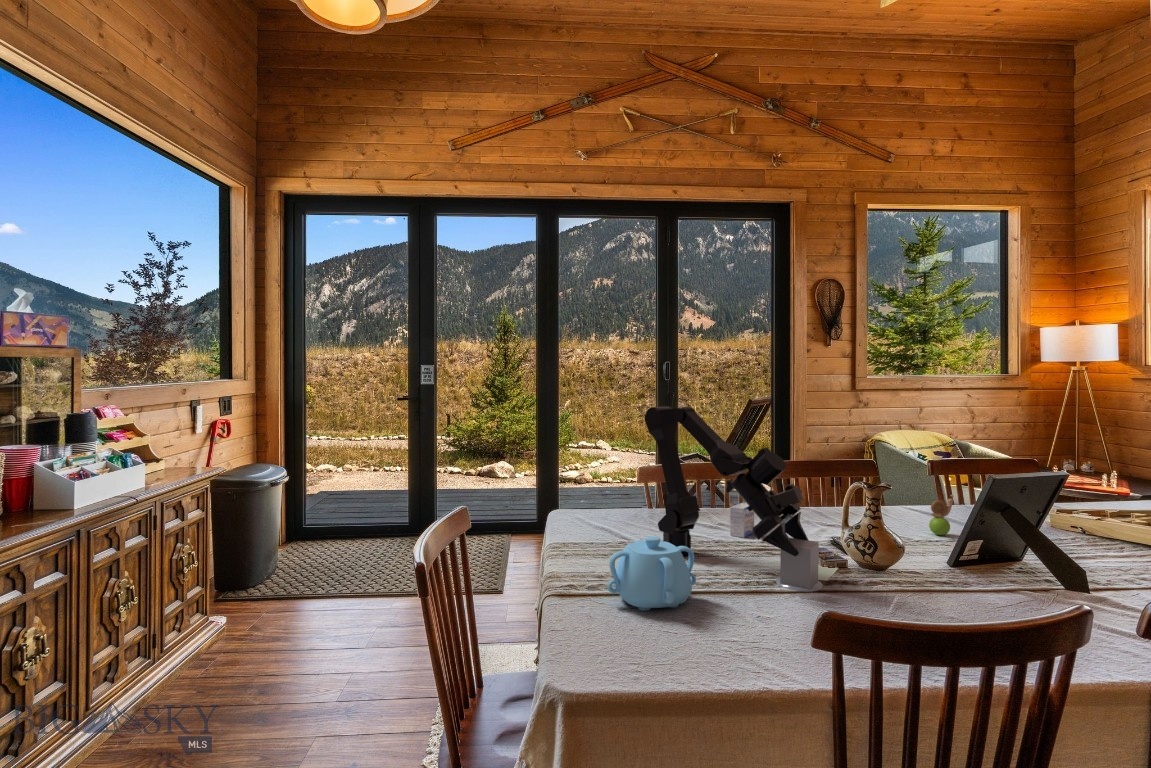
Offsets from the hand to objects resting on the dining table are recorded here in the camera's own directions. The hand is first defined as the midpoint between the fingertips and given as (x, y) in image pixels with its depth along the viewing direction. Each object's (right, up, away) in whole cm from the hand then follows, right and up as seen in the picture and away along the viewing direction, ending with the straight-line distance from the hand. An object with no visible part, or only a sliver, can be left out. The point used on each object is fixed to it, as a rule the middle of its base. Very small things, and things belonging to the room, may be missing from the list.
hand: (803, 550), depth 144 cm
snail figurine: (+57, -7, +44) cm, 72 cm away
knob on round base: (-1, -8, +1) cm, 8 cm away
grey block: (-1, -8, +1) cm, 8 cm away
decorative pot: (-35, -9, -9) cm, 38 cm away
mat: (+5, -8, +10) cm, 14 cm away
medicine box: (-2, -7, +44) cm, 45 cm away
